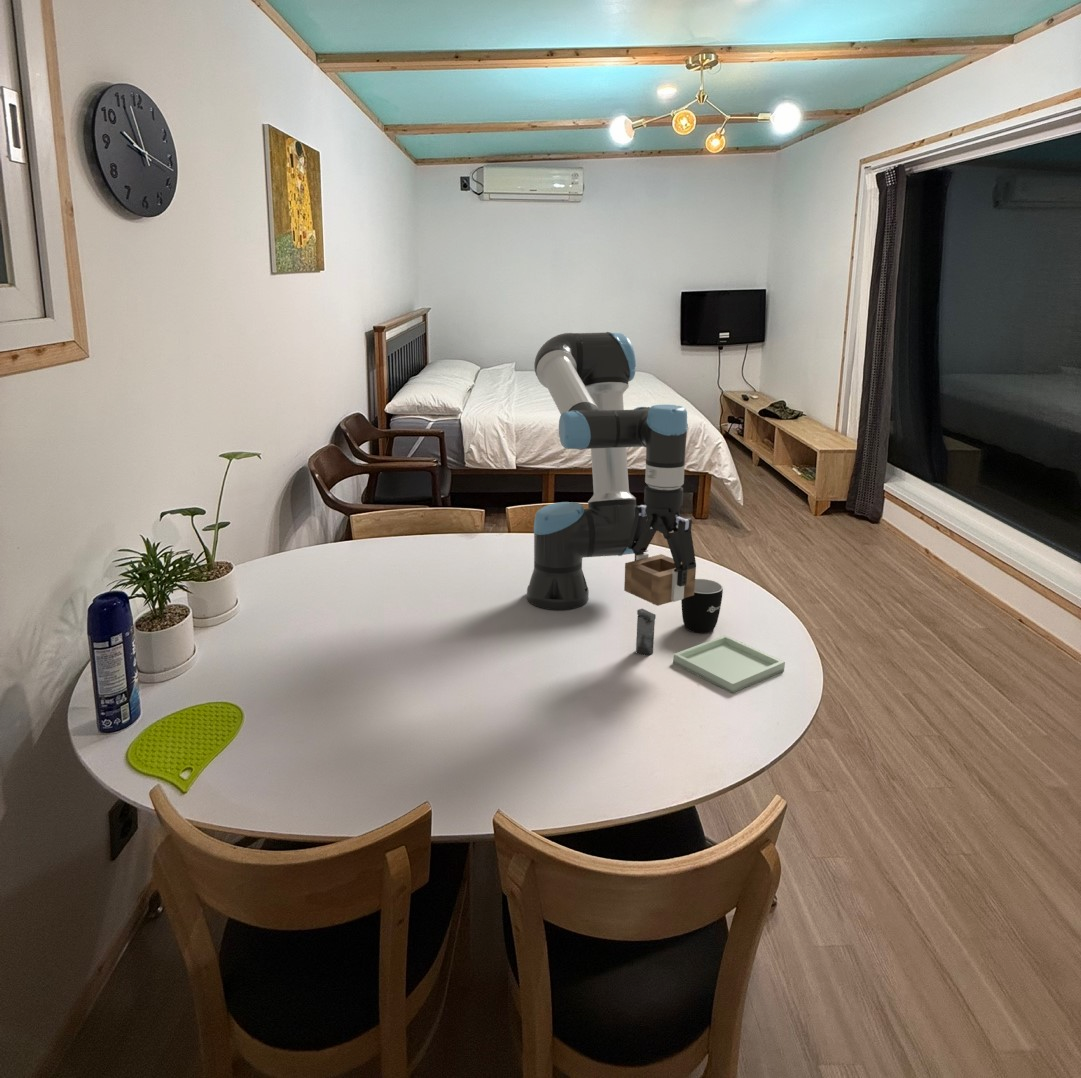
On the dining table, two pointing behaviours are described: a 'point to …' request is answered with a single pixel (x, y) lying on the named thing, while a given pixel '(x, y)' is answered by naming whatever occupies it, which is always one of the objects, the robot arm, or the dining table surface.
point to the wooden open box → (655, 579)
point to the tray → (728, 663)
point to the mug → (702, 606)
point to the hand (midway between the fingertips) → (658, 591)
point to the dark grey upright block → (645, 632)
